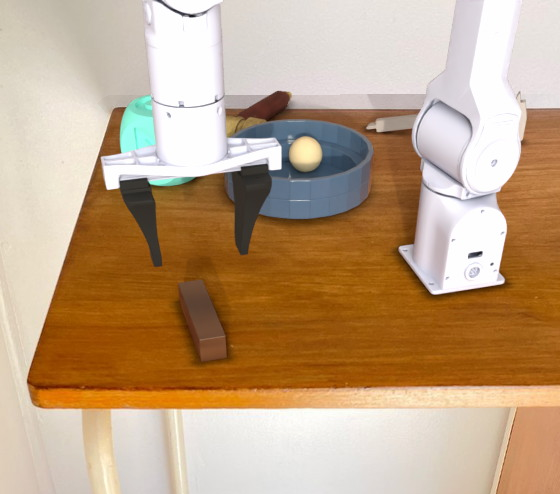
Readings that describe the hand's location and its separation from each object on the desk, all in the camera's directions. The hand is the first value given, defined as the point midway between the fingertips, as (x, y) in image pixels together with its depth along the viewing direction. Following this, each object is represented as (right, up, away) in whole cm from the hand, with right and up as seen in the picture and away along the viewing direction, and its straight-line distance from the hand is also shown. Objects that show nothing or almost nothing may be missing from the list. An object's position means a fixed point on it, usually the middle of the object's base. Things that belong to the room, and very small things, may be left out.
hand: (199, 255), depth 75 cm
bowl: (+9, +15, +26) cm, 31 cm away
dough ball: (+10, +20, +27) cm, 35 cm away
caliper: (+29, +26, +37) cm, 54 cm away
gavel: (+4, +28, +39) cm, 49 cm away
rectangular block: (0, -6, +5) cm, 7 cm away
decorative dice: (-7, +18, +30) cm, 35 cm away
